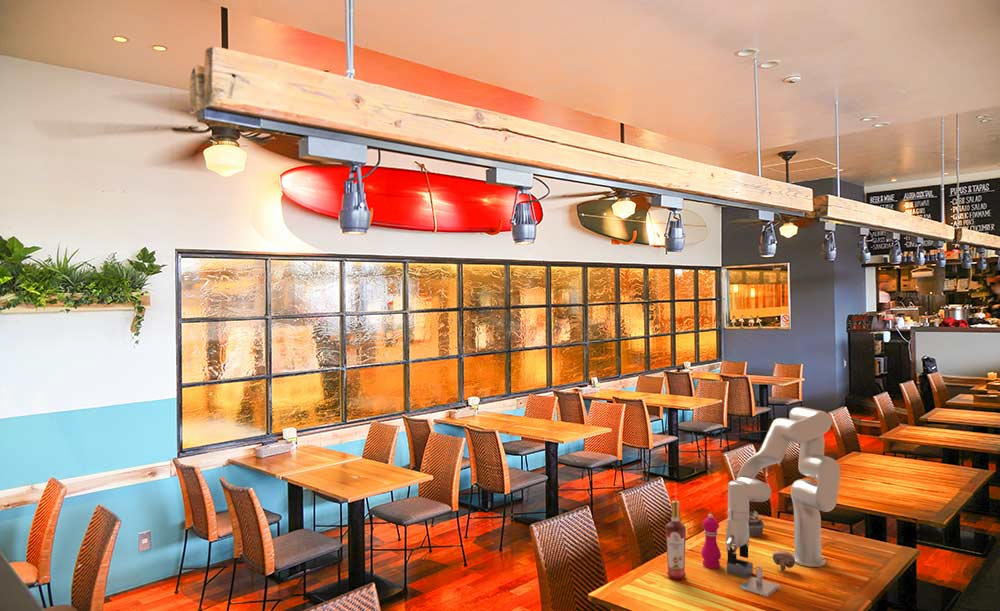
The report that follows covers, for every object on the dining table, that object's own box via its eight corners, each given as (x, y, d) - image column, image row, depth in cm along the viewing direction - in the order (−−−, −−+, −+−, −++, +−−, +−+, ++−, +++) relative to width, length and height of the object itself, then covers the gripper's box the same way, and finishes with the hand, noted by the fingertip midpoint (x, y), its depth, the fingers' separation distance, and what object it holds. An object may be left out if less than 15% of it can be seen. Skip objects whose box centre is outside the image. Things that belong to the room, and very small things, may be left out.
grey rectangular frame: (726, 572, 242) (726, 561, 242) (733, 567, 245) (733, 557, 246) (746, 578, 236) (746, 567, 236) (752, 573, 240) (752, 562, 240)
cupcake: (743, 537, 278) (742, 514, 278) (738, 529, 288) (738, 507, 288) (766, 538, 277) (766, 514, 277) (761, 530, 286) (760, 508, 286)
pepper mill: (722, 569, 244) (721, 517, 244) (702, 568, 245) (701, 516, 245) (719, 562, 251) (718, 511, 251) (700, 561, 252) (699, 510, 252)
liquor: (687, 574, 240) (685, 499, 240) (686, 582, 233) (684, 505, 233) (666, 572, 242) (665, 498, 243) (665, 580, 235) (664, 503, 236)
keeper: (751, 580, 234) (751, 560, 235) (779, 588, 227) (779, 567, 227) (739, 588, 228) (739, 568, 228) (767, 597, 220) (767, 576, 220)
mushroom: (769, 569, 244) (769, 548, 244) (779, 565, 247) (778, 545, 247) (788, 576, 237) (787, 554, 237) (797, 572, 241) (797, 551, 241)
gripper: (739, 507, 250) (738, 551, 249) (717, 517, 238) (717, 563, 237) (758, 512, 244) (757, 557, 244) (737, 521, 232) (737, 569, 232)
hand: (737, 560), depth 241 cm, fingers open, 9 cm apart
